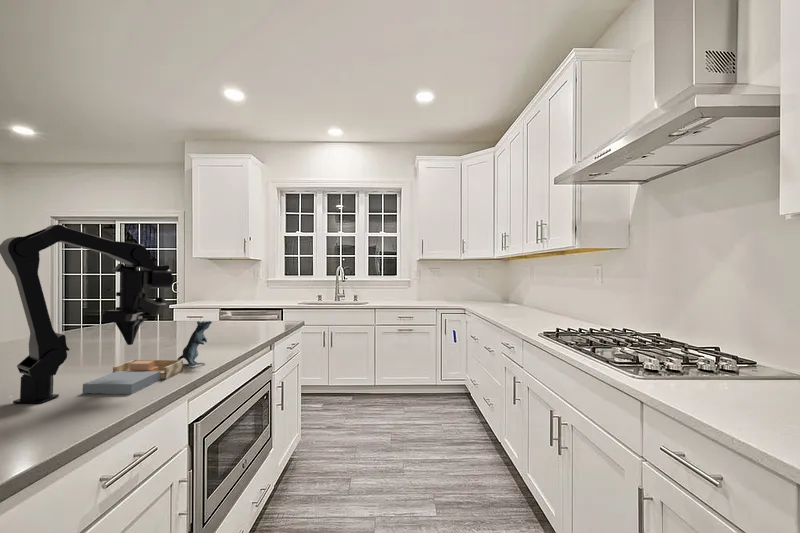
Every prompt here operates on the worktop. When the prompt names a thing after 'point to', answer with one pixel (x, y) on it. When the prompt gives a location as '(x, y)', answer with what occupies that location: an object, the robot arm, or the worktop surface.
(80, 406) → the worktop surface
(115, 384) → the slate board
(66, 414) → the worktop surface
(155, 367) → the tile far
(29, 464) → the worktop surface
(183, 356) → the sculpture
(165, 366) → the tray
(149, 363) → the tile near
